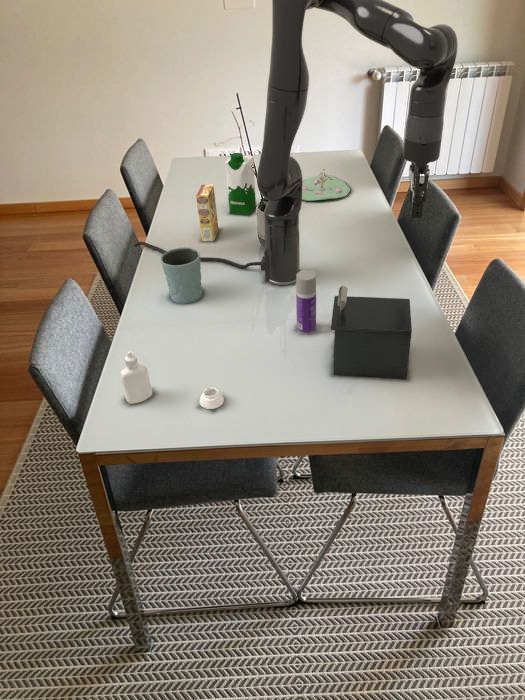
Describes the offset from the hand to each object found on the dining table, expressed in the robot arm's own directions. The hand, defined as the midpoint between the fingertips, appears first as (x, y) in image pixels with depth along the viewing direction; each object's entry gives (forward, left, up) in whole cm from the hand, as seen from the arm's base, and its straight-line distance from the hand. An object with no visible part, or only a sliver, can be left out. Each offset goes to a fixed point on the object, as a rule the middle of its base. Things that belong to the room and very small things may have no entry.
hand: (414, 209), depth 133 cm
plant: (-27, +81, -28) cm, 90 cm away
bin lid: (-8, -20, -16) cm, 27 cm away
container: (-23, -9, -28) cm, 37 cm away
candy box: (-59, +41, -28) cm, 78 cm away
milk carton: (-52, +61, -28) cm, 85 cm away
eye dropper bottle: (-56, -38, -28) cm, 73 cm away
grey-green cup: (-57, +4, -28) cm, 64 cm away
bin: (-8, -20, -28) cm, 35 cm away
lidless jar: (-40, -38, -28) cm, 62 cm away
